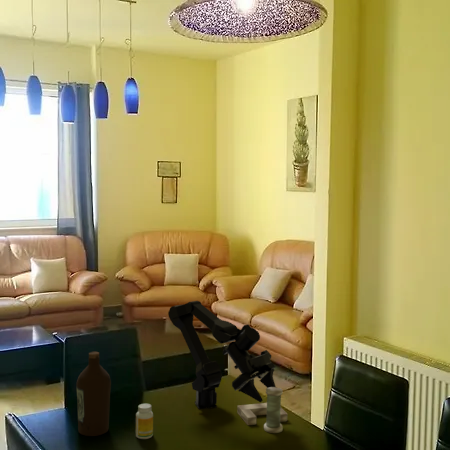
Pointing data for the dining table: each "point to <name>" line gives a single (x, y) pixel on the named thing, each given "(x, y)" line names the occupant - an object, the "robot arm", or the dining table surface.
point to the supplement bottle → (144, 421)
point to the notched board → (256, 412)
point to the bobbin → (273, 410)
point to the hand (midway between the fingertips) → (269, 397)
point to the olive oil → (93, 398)
